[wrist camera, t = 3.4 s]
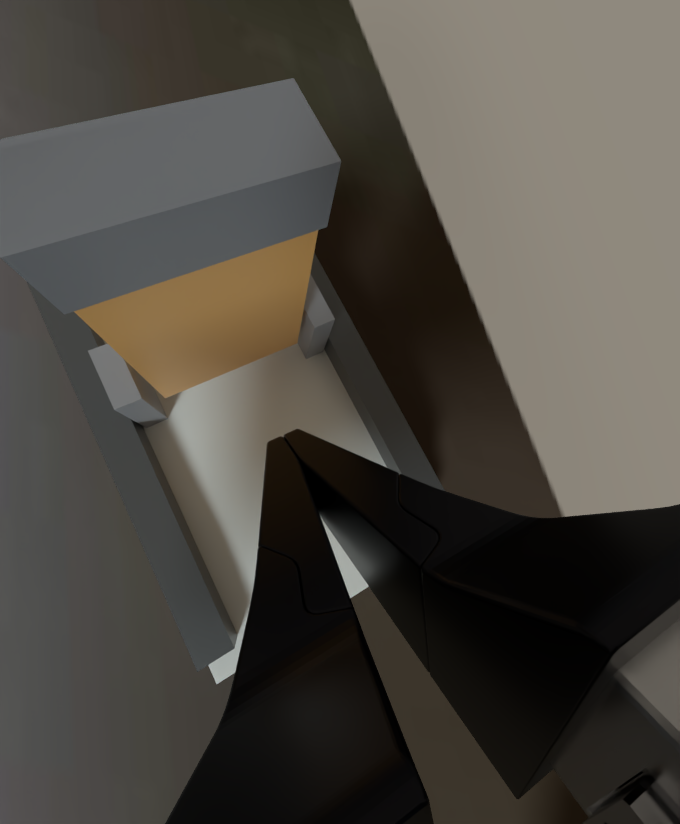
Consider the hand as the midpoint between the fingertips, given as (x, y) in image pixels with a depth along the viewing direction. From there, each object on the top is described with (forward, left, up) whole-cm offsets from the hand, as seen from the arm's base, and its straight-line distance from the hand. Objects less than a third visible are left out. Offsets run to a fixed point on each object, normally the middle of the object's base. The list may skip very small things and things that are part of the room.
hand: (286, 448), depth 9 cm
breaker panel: (+4, 0, -8) cm, 9 cm away
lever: (+4, 0, -4) cm, 6 cm away
